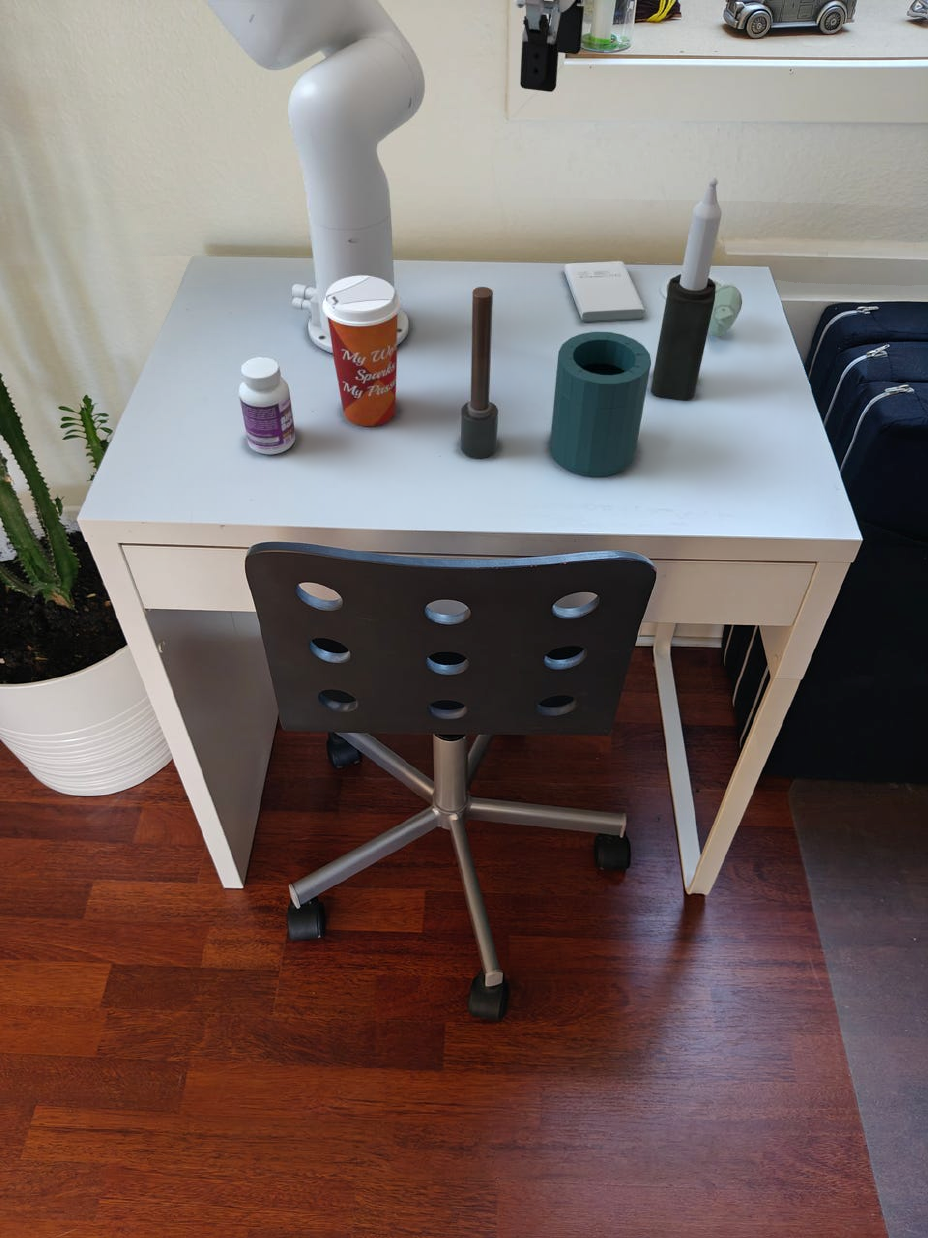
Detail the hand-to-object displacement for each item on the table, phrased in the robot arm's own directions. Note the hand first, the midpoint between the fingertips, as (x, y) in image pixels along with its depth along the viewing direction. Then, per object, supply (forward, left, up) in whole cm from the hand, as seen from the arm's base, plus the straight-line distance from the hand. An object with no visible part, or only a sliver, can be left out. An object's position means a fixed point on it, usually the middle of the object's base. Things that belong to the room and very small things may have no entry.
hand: (551, 69), depth 93 cm
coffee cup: (-16, -11, -35) cm, 40 cm away
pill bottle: (-24, -20, -35) cm, 47 cm away
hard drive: (+3, +23, -35) cm, 42 cm away
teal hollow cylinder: (+10, -9, -35) cm, 38 cm away
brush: (-2, -13, -35) cm, 37 cm away
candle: (+16, +6, -35) cm, 39 cm away
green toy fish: (+19, +19, -35) cm, 44 cm away
